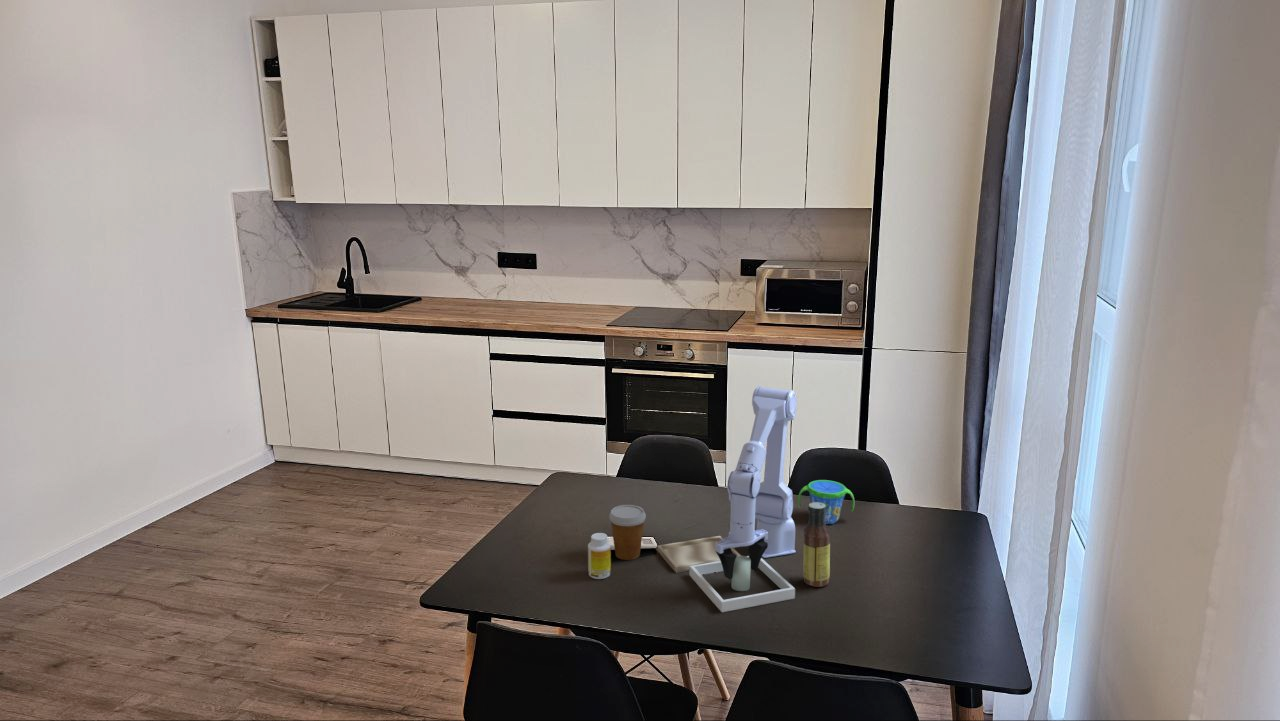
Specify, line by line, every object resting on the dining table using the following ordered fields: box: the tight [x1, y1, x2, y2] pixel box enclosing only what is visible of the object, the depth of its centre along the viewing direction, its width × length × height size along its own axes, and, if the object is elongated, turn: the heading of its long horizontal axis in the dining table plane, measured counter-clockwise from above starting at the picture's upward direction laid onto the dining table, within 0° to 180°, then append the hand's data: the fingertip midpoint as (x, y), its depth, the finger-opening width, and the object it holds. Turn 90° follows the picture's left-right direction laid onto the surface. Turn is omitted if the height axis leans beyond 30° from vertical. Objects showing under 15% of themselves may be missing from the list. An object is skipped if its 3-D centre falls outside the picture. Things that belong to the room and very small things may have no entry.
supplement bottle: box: [587, 532, 612, 580], centre depth 203 cm, size 6×6×10 cm
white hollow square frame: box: [689, 555, 796, 613], centre depth 198 cm, size 19×19×2 cm
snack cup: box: [797, 479, 856, 525], centre depth 235 cm, size 16×10×10 cm
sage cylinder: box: [731, 555, 752, 592], centre depth 198 cm, size 4×4×7 cm
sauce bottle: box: [802, 502, 831, 588], centre depth 198 cm, size 6×6×20 cm
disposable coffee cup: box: [608, 504, 647, 561], centre depth 213 cm, size 10×10×12 cm
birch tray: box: [656, 535, 742, 574], centre depth 214 cm, size 18×13×2 cm
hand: (740, 573), depth 197 cm, fingers open, 7 cm apart
